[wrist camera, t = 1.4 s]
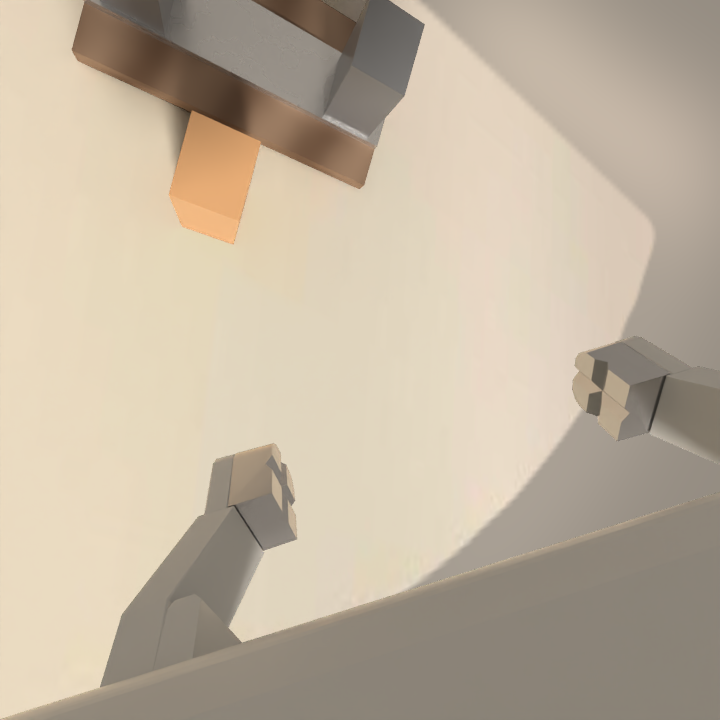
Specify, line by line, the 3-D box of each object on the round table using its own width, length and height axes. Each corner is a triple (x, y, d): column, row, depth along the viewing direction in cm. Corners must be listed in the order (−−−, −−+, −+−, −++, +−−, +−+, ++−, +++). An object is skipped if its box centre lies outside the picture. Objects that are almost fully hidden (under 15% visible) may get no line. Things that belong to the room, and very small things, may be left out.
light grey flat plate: (84, 2, 26) (81, -5, 26) (105, -78, 26) (103, -87, 25) (374, 148, 34) (376, 146, 34) (391, 87, 34) (394, 83, 33)
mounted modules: (99, 1, 26) (60, -103, 19) (119, -73, 26) (86, -203, 19) (367, 138, 33) (404, 95, 27) (383, 80, 33) (424, 24, 27)
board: (77, 60, 27) (71, 50, 26) (122, -108, 27) (118, -126, 26) (359, 188, 35) (364, 184, 34) (396, 59, 35) (402, 51, 34)
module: (182, 226, 31) (168, 194, 22) (198, 164, 31) (192, 110, 22) (233, 244, 32) (239, 221, 24) (249, 185, 32) (261, 141, 24)
